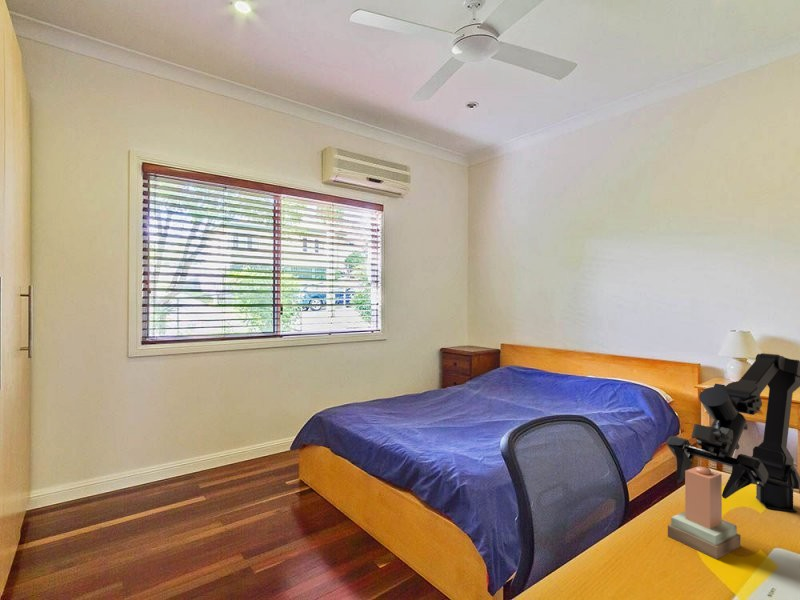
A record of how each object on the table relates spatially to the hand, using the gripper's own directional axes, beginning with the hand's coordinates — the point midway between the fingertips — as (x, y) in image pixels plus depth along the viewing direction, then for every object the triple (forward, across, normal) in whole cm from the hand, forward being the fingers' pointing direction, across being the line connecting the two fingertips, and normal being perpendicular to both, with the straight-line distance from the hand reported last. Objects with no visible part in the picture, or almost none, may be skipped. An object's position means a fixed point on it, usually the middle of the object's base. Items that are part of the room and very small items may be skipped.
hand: (700, 489), depth 95 cm
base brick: (+8, 0, +9) cm, 12 cm away
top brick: (+4, 0, +6) cm, 8 cm away
